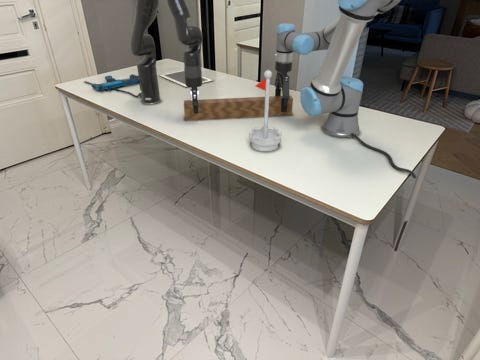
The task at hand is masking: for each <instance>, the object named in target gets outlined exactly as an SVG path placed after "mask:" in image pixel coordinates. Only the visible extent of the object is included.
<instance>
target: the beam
mask: <svg viewBox="0 0 480 360" xmlns="http://www.w3.org/2000/svg"><path fill="white" fill-rule="evenodd" d="M289 97H290V98H289V99H288V104H287V112H281V102H282V99H281V98H282V95H281V96H275V95H272V96H270V95H269V110H268V117H282V116H283V117H284V116H293V106H294V97H293V96H292V95H290V94H289ZM194 103H197V102H194ZM192 104H193V102H192V100H191V99H186V100H185V99H183V110H184V120H185V121H187V122H189V121H207V120H225V119H227V120H229V119H246V118H263V117H264V111H265V96H251V97H250V96H249V97H247V96H246V97H231V98H230V97H229V98H228V97H227V98H226V97H225V98H207V99H205V98H204V99H199V100H198V114H194V110H193V105H192Z"/></svg>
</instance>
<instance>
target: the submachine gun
mask: <svg viewBox="0 0 480 360" xmlns="http://www.w3.org/2000/svg"><path fill="white" fill-rule="evenodd" d="M104 80H106V82H101V83H92V84H90V86H91V88H92V89H94V90H95V91H97V92H99V91H103V90H105V91H107V90H108V91H111V90H112V89H111V88H113V89H116V88H120V87H123V86H128V85H133V84H139V83H140V81H139V75H136V74H134V73H132V74H130V75H129V78H123V79H116V78H115V77H113V76H112V75H106V76H104Z"/></svg>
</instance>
